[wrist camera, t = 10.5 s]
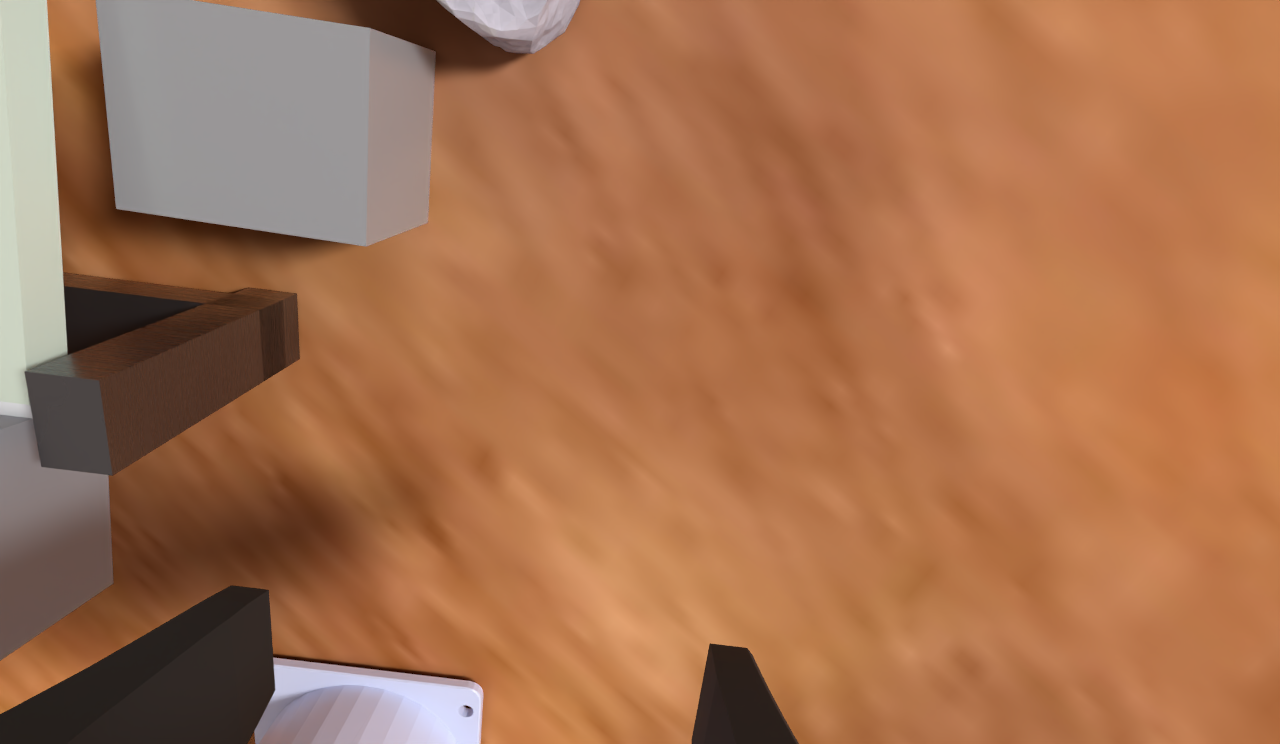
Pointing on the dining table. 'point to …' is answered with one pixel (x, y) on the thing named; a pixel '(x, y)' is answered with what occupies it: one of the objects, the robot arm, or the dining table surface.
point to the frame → (151, 366)
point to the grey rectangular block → (266, 120)
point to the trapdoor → (36, 357)
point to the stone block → (515, 21)
